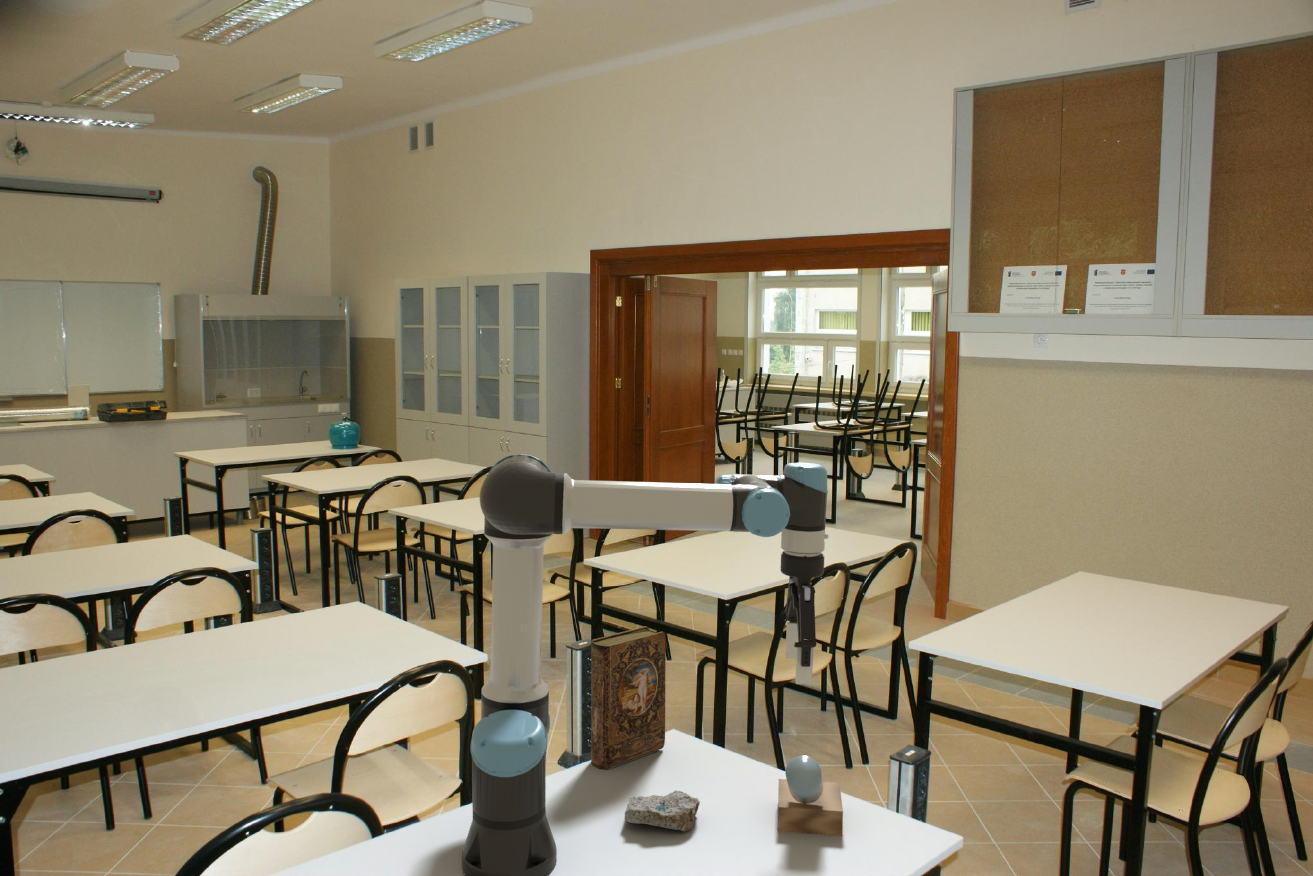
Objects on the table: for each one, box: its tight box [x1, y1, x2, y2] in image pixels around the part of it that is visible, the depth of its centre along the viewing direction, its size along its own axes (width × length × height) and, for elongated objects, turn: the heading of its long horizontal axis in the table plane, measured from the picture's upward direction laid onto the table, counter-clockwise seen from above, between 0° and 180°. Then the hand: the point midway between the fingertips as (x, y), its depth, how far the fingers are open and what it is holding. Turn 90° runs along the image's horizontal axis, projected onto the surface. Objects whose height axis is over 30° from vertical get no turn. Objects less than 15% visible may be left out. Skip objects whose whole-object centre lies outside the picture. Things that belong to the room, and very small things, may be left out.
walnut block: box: [777, 778, 844, 837], centre depth 172 cm, size 11×11×5 cm
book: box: [590, 626, 667, 770], centre depth 197 cm, size 16×6×25 cm, turn 133°
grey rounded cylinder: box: [785, 754, 824, 804], centre depth 167 cm, size 6×6×7 cm
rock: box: [624, 790, 701, 832], centre depth 170 cm, size 13×10×5 cm
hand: (798, 670), depth 171 cm, fingers open, 13 cm apart
